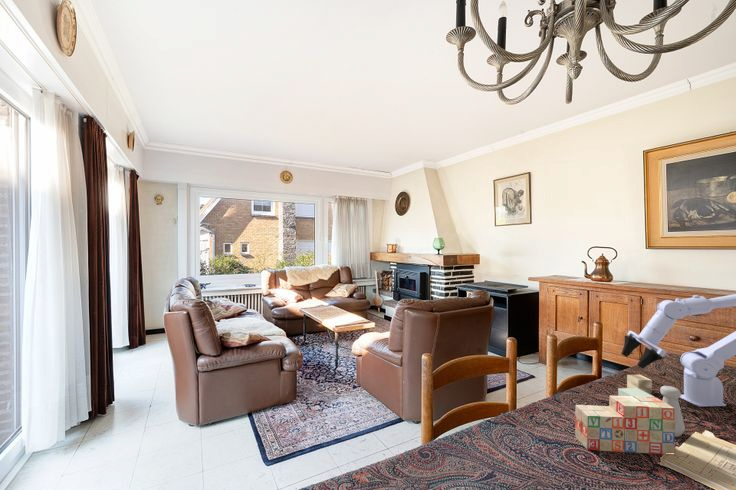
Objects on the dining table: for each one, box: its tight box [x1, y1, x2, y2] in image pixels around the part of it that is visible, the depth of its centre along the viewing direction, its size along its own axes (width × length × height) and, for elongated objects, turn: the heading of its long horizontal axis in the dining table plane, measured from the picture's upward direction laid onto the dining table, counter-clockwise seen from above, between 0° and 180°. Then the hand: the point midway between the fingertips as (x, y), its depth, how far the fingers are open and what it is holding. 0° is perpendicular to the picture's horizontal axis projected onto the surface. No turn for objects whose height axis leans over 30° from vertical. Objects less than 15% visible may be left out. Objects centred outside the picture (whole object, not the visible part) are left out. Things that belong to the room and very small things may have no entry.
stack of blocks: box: [574, 395, 676, 455], centre depth 90 cm, size 21×6×12 cm, turn 84°
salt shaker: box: [659, 385, 686, 438], centre depth 95 cm, size 6×6×13 cm
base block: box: [617, 387, 655, 397], centre depth 114 cm, size 7×7×3 cm
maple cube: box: [626, 374, 653, 395], centre depth 123 cm, size 5×5×5 cm
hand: (631, 361), depth 121 cm, fingers open, 7 cm apart
